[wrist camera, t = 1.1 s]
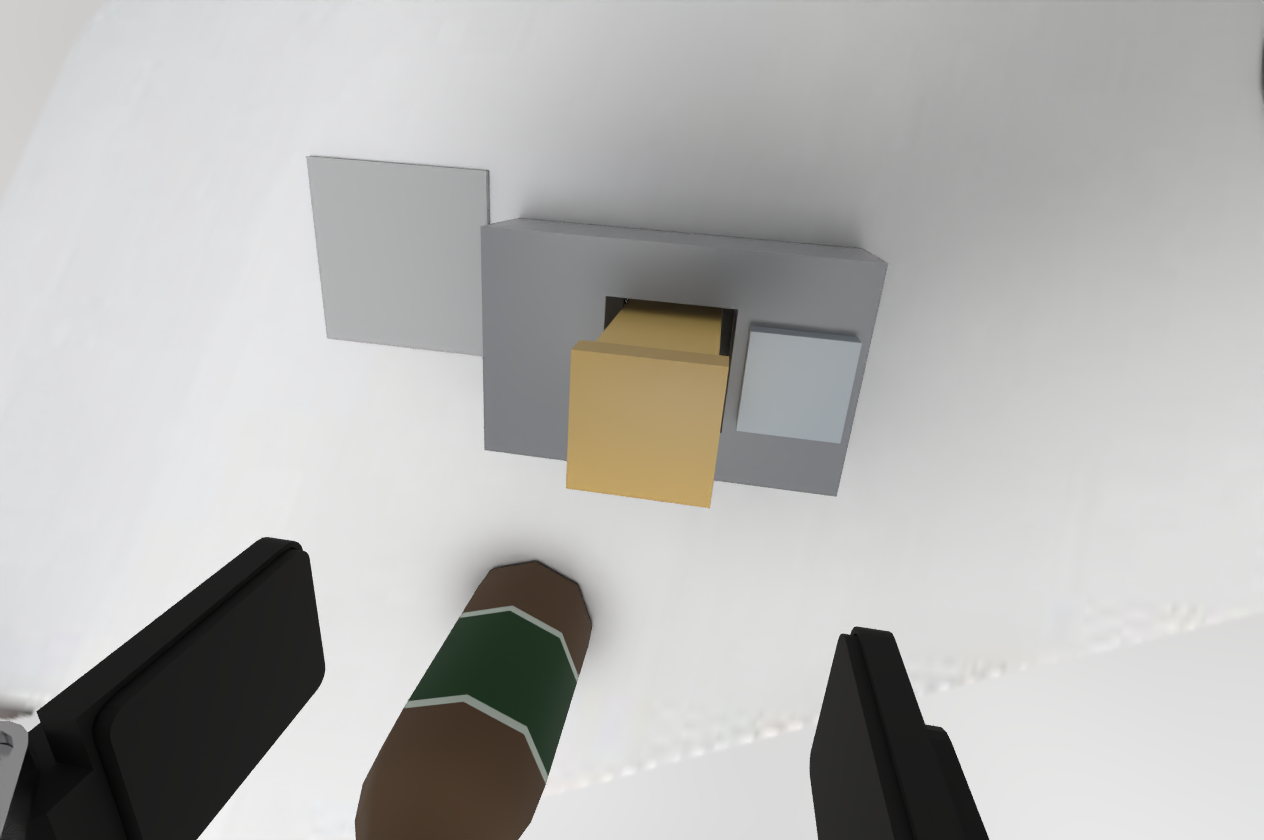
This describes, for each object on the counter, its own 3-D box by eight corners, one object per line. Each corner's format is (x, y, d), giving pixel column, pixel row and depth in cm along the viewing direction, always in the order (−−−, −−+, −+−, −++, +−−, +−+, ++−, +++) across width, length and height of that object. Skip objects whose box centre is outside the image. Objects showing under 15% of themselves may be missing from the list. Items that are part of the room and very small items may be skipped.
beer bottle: (471, 647, 40) (155, 1220, 18) (473, 545, 37) (99, 1082, 15) (589, 671, 40) (409, 1298, 17) (601, 569, 37) (402, 1169, 15)
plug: (730, 293, 30) (728, 367, 19) (717, 388, 32) (709, 507, 20) (630, 283, 30) (571, 349, 19) (624, 378, 32) (566, 488, 21)
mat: (488, 170, 29) (486, 170, 29) (490, 355, 33) (488, 357, 32) (310, 156, 30) (306, 156, 30) (330, 337, 34) (327, 338, 33)
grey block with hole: (862, 248, 28) (894, 266, 23) (821, 449, 32) (840, 507, 26) (519, 218, 30) (470, 228, 24) (518, 412, 34) (476, 459, 28)
